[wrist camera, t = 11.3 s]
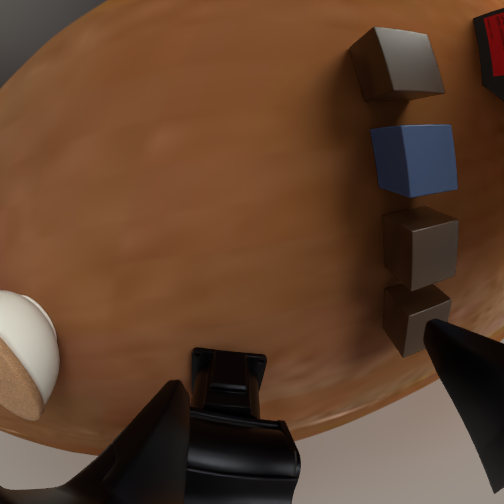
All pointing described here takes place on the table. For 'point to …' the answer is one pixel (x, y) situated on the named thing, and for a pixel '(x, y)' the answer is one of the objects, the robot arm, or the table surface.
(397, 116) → the table surface
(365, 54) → the walnut block
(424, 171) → the blue block
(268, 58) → the table surface
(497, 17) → the cleaning product box
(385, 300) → the walnut block
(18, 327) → the lidded bowl
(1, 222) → the table surface
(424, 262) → the walnut block
